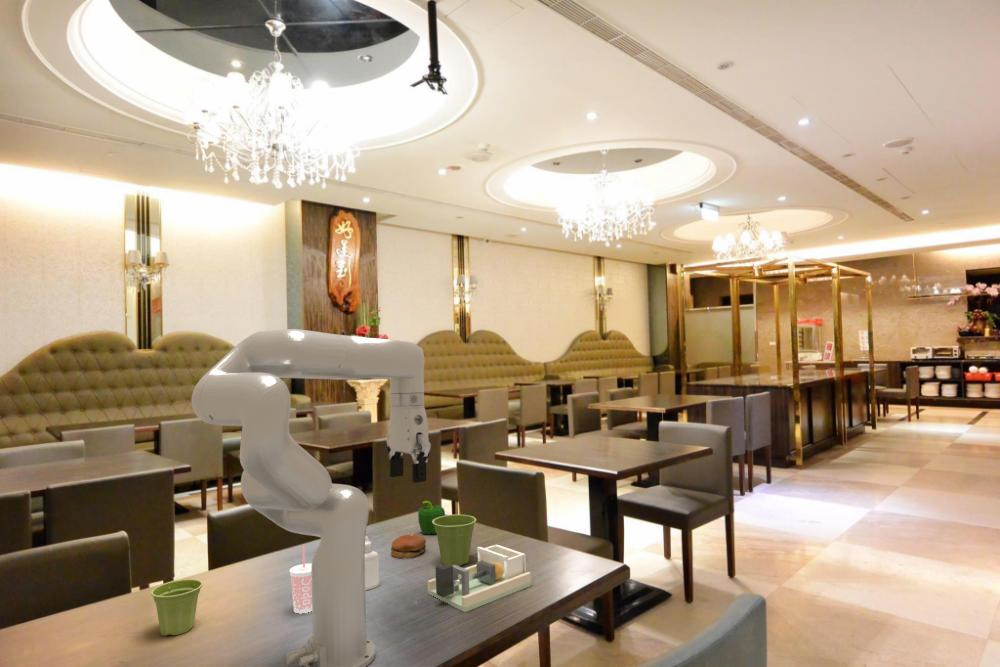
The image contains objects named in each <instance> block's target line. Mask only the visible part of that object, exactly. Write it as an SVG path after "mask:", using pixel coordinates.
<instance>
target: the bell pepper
mask: <svg viewBox="0 0 1000 667" xmlns="http://www.w3.org/2000/svg"><path fill="white" fill-rule="evenodd" d="M422 504H423V505H427V506H425V507H424V506H423V507H419V509H418V511H417V515H418V524H419V527H420V530H421V533H423V534H424V535H431V534H433V535H437V534H436V531H435V526H434V524H433V523H432V521H433V520H434V519H435V518H438V517H441V516H446V510H445V508H444V507H442V506H441V505H440V504H436V505H434V506H433V505H432V502H430V501H429V500H424V501H422ZM430 533H431V534H430Z"/></svg>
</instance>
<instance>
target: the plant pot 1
mask: <svg viewBox="0 0 1000 667" xmlns="http://www.w3.org/2000/svg"><path fill="white" fill-rule="evenodd" d="M203 585H204V584H203V581H202V580H199V579H194V578H188V579H186V578H185V579H179V580H172V581H169V582H165V583H163V584H160V585H157V586H156V587H154V588H153V589H152V590H151V592H150V594H151V596H152V598H153V601H154V602H155V606H156V611H157V612H156V613H157V618H158V626H159V632H160V634H161V635H162V636H165V637H167V636H168V635H172V636H177V635H182V634H184V633H187V632H189V631H190V630H191V629H192V628H193V627H194V626H195V620H196V612H197V605H198V599H199V594H200V592H201V588H202V587H203Z"/></svg>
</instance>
